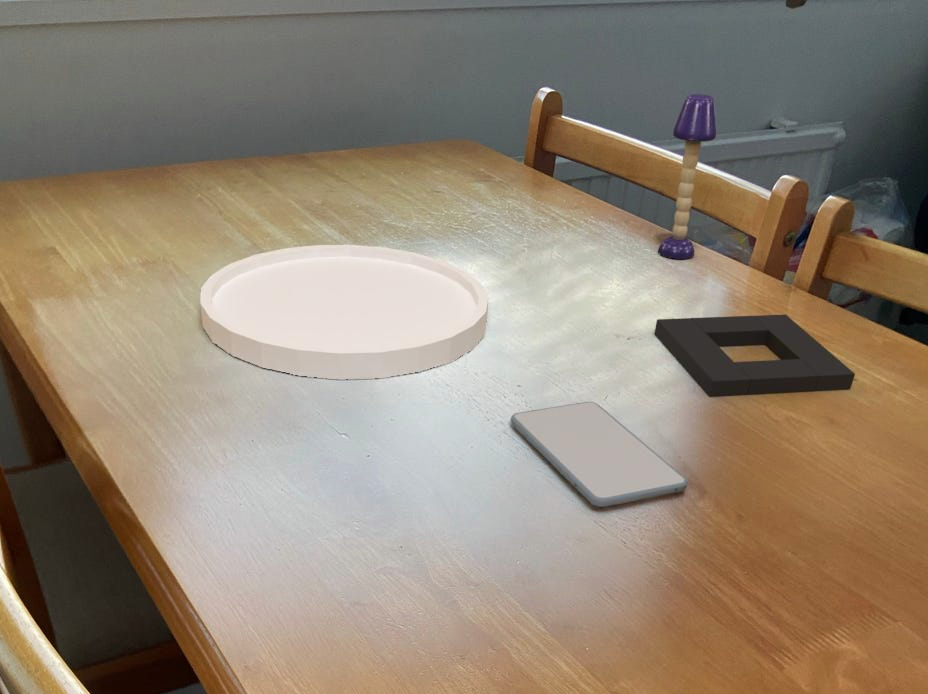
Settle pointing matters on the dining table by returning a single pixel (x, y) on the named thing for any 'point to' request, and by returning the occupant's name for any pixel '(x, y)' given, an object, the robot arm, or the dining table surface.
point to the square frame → (720, 376)
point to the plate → (344, 311)
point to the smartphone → (598, 454)
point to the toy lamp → (689, 168)
